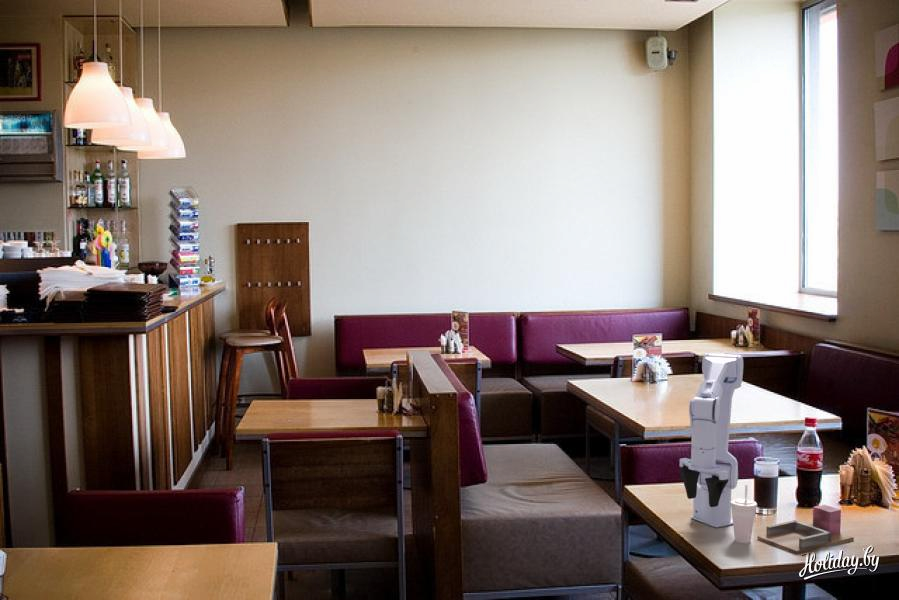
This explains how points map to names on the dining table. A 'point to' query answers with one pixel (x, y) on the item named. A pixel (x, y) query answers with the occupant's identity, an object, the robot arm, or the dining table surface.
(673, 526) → the dining table surface
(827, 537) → the open-sided grey tray
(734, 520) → the smoothie
